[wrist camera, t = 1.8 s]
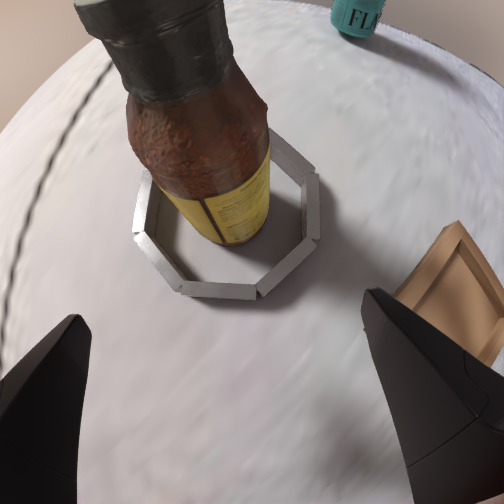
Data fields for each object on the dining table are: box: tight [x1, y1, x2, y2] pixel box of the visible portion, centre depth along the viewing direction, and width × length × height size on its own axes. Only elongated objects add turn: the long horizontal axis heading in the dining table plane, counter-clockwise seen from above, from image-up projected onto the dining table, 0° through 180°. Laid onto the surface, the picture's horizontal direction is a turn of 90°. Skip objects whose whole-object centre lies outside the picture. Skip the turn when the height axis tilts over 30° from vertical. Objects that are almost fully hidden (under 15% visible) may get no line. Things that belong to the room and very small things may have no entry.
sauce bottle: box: [74, 0, 270, 246], centre depth 13 cm, size 7×6×20 cm
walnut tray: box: [363, 220, 504, 367], centre depth 20 cm, size 13×13×2 cm
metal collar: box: [132, 127, 320, 300], centre depth 22 cm, size 14×14×2 cm
